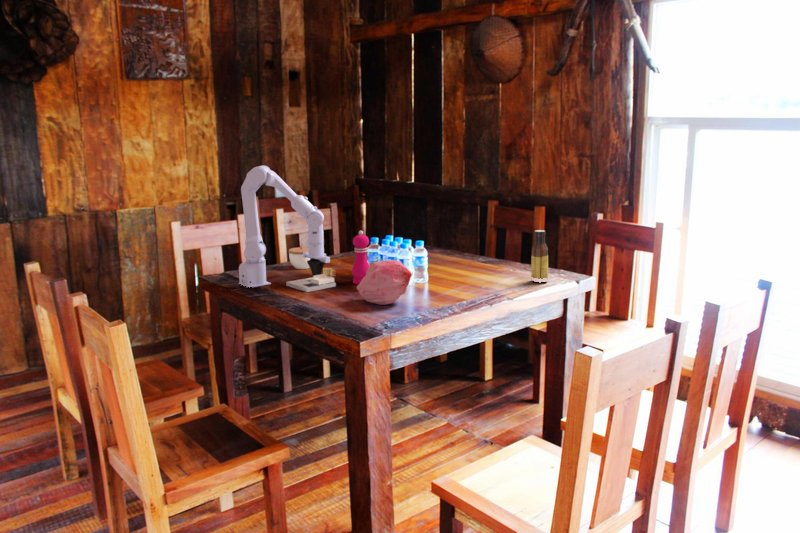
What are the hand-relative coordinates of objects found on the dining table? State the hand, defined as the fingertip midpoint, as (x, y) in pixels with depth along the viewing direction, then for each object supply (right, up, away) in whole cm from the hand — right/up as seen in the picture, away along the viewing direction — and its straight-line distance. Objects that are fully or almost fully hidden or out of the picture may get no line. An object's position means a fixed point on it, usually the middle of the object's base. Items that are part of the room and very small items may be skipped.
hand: (316, 278), depth 256 cm
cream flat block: (+2, -1, -3) cm, 4 cm away
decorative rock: (+26, -8, -25) cm, 37 cm away
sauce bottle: (+84, -1, +6) cm, 85 cm away
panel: (-2, -3, -2) cm, 4 cm away
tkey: (+4, -1, +7) cm, 8 cm away
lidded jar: (-10, +4, +31) cm, 33 cm away
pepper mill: (+16, -2, +4) cm, 17 cm away
